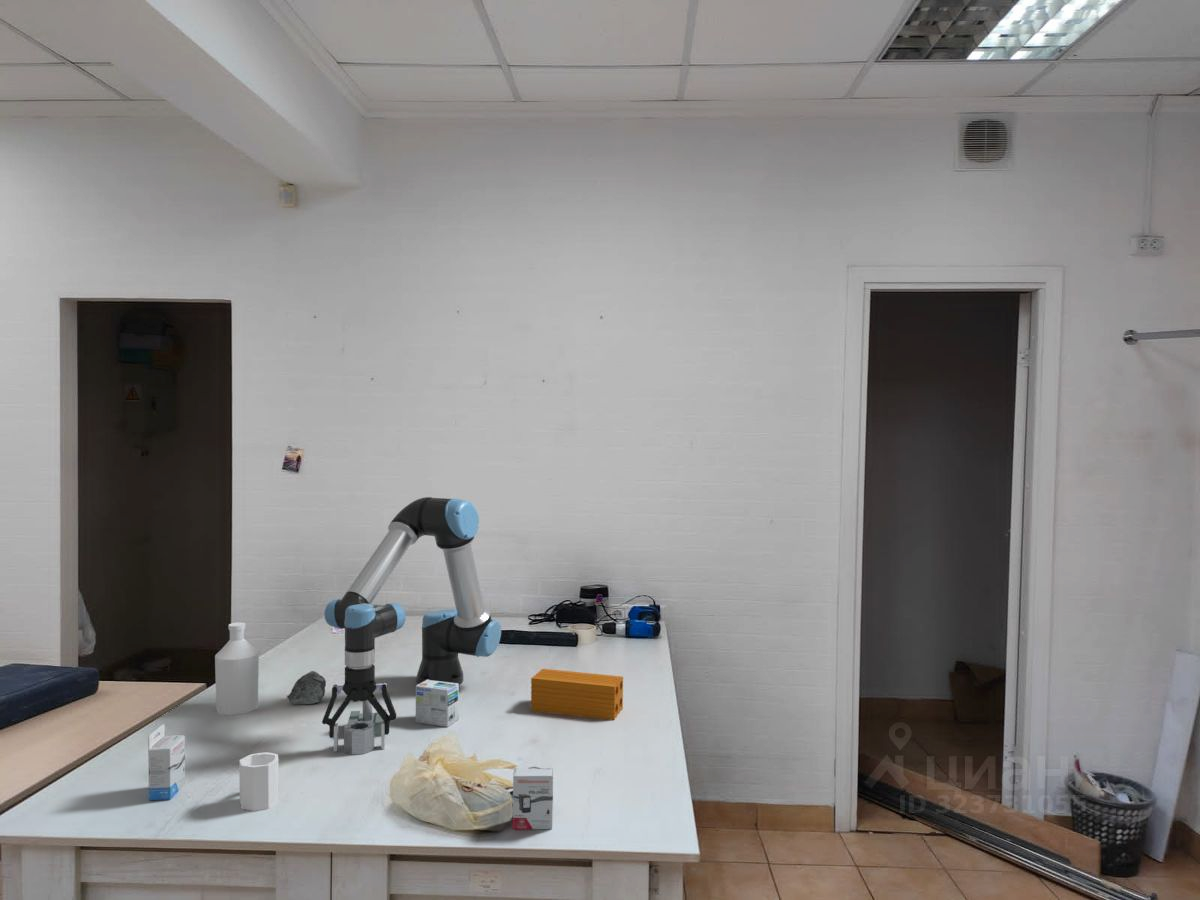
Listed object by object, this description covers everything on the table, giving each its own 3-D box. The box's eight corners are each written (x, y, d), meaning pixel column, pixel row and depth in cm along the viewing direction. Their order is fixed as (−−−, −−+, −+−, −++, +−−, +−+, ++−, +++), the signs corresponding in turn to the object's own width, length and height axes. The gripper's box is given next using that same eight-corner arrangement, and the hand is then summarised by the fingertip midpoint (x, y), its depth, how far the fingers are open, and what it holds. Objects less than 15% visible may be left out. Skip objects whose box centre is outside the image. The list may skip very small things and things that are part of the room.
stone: (303, 673, 250) (320, 663, 260) (279, 692, 252) (297, 681, 262) (322, 699, 250) (339, 687, 260) (299, 718, 252) (316, 706, 261)
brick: (622, 709, 253) (623, 676, 253) (614, 720, 243) (614, 686, 243) (542, 700, 260) (542, 668, 260) (530, 711, 250) (531, 678, 250)
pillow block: (386, 722, 239) (387, 687, 239) (384, 735, 229) (384, 699, 229) (350, 724, 237) (350, 689, 237) (346, 738, 227) (346, 701, 227)
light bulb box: (459, 719, 242) (459, 682, 242) (447, 727, 236) (448, 689, 235) (426, 714, 246) (427, 678, 245) (414, 722, 239) (414, 685, 239)
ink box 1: (170, 800, 190) (170, 736, 189) (147, 801, 189) (147, 736, 189) (186, 784, 198) (185, 722, 198) (164, 784, 198) (163, 722, 197)
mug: (272, 811, 185) (272, 767, 185) (232, 811, 185) (232, 767, 185) (290, 787, 197) (290, 745, 197) (252, 787, 197) (252, 745, 197)
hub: (375, 742, 225) (375, 720, 224) (373, 753, 217) (373, 730, 217) (346, 744, 223) (346, 721, 223) (343, 755, 216) (343, 732, 216)
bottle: (236, 699, 257) (235, 618, 256) (267, 704, 253) (267, 621, 252) (206, 712, 246) (205, 627, 245) (238, 717, 242) (238, 631, 241)
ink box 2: (511, 830, 178) (512, 775, 178) (513, 819, 183) (513, 765, 183) (552, 829, 179) (553, 774, 178) (552, 818, 184) (553, 765, 183)
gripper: (406, 659, 225) (406, 739, 226) (314, 662, 221) (314, 745, 222) (405, 667, 218) (405, 750, 219) (310, 671, 213) (310, 756, 214)
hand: (359, 748), depth 220 cm, fingers open, 11 cm apart
